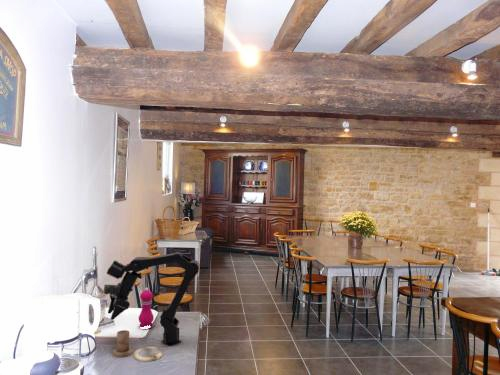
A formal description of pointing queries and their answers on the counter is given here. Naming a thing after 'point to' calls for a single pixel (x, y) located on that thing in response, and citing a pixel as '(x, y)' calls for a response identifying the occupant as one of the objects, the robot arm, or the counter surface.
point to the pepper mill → (146, 309)
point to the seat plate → (148, 354)
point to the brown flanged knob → (122, 345)
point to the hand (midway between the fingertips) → (110, 316)
